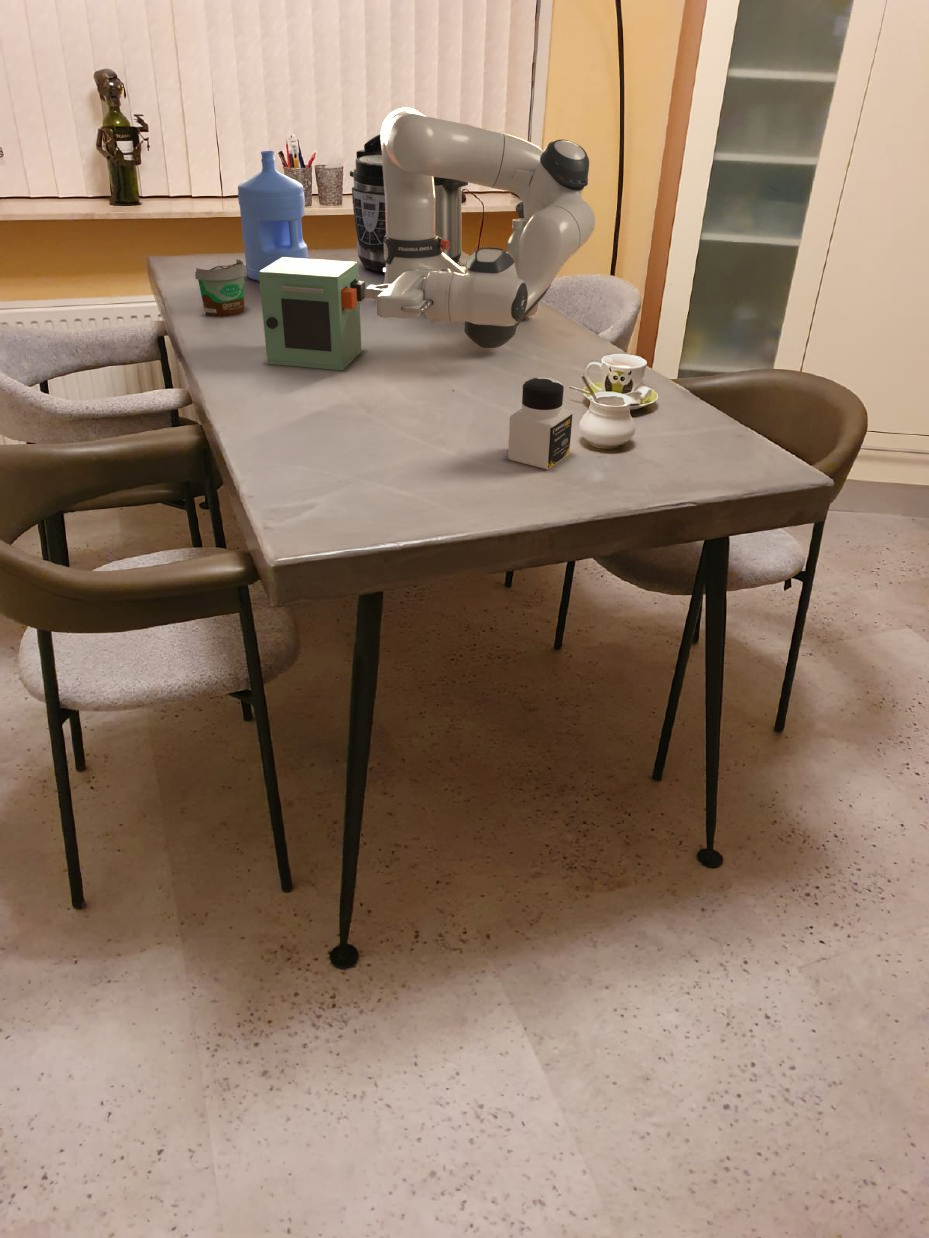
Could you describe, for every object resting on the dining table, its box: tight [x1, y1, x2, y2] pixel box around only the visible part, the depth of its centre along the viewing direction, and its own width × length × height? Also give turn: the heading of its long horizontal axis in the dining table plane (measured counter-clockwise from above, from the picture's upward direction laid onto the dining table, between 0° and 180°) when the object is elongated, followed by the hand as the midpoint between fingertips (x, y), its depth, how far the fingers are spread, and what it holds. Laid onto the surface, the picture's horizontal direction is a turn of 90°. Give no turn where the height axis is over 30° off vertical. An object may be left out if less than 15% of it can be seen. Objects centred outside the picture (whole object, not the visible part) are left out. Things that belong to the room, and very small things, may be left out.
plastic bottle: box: [506, 217, 539, 318], centre depth 206 cm, size 6×7×20 cm
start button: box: [341, 288, 357, 309], centre depth 176 cm, size 3×3×3 cm
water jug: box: [237, 150, 309, 282], centre depth 232 cm, size 16×16×28 cm
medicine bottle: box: [507, 376, 574, 471], centre depth 144 cm, size 7×7×12 cm
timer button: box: [350, 280, 366, 302], centre depth 180 cm, size 3×3×3 cm
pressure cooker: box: [349, 133, 469, 273], centre depth 242 cm, size 30×28×32 cm
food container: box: [194, 258, 247, 318], centre depth 208 cm, size 12×6×10 cm, turn 143°
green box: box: [258, 257, 362, 371], centre depth 181 cm, size 15×13×17 cm
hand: (366, 291), depth 180 cm, fingers closed
